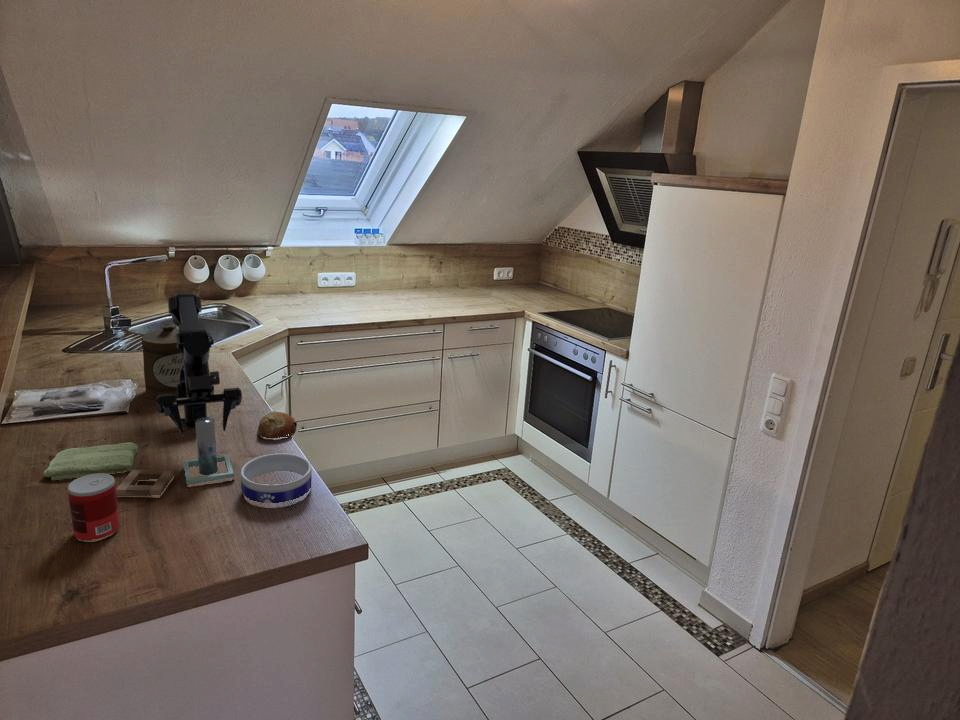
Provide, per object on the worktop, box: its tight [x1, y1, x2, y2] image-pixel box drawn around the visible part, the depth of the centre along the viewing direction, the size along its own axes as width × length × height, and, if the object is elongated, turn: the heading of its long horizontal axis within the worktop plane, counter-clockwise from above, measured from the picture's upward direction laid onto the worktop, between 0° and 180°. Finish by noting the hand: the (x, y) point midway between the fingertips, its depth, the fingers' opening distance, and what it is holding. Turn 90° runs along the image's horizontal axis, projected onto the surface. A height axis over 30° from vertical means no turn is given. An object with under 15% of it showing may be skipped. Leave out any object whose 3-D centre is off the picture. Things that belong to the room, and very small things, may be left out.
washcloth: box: [43, 441, 139, 481], centre depth 150 cm, size 13×18×3 cm
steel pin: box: [194, 416, 218, 475], centre depth 148 cm, size 4×4×13 cm
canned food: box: [67, 473, 121, 540], centre depth 125 cm, size 8×8×11 cm
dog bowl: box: [240, 452, 313, 503], centre depth 145 cm, size 15×15×6 cm
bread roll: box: [257, 410, 298, 438], centre depth 174 cm, size 10×10×8 cm
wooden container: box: [141, 322, 184, 401], centre depth 192 cm, size 15×15×22 cm
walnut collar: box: [116, 469, 175, 496], centre depth 143 cm, size 9×9×2 cm
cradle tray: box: [182, 454, 235, 485], centre depth 150 cm, size 10×10×2 cm
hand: (203, 433), depth 153 cm, fingers open, 9 cm apart
